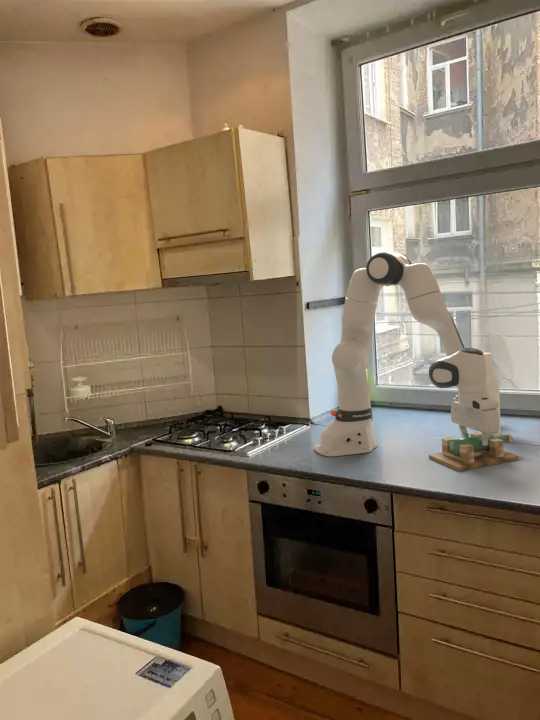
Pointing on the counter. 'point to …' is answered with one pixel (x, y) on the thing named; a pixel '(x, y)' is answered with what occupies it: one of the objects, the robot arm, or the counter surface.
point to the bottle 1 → (492, 386)
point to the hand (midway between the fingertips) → (474, 441)
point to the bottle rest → (472, 455)
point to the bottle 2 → (475, 443)
